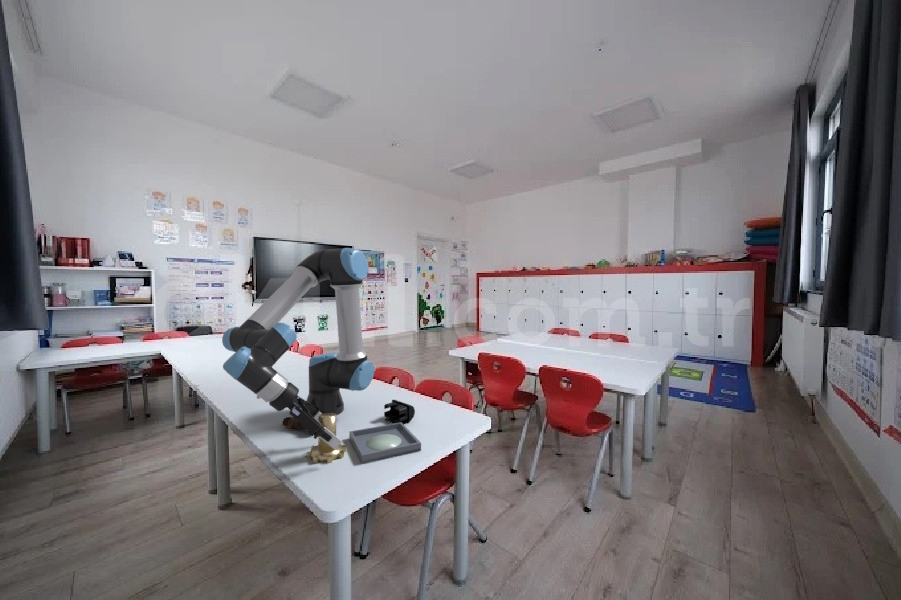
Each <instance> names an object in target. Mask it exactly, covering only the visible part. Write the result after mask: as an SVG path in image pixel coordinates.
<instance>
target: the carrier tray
mask: <svg viewBox="0 0 901 600" xmlns="http://www.w3.org/2000/svg"><path fill="white" fill-rule="evenodd" d="M348 433H349V434H348V435H349V437H348V439H349V441H350V443H351V444H352V447H353V449H354V451H355V453H356V454H357V457H358V458H359V460H360V463H361V465H363V464H368V463H373V462H376V460H377V461H381V459H382V460H386V459H390V457H391V458H394V457H393V456H395V457H398V456H403V454H404V455H407V454H411V453H412V454H413V453H417V452H420V451H422V442H421V441H420V440H419V439H418V438H417V437H416V436H415V435H414V434H413V432H412V431H410V430H409V428H407V426H406V425H403V423H402V422H400V423H394V424H393V423H390V424H389V423H388V424H384V425H377V426H372V427H366V428H361V429H356V430H355V429H354V430H350V431H348ZM385 458H386V459H385ZM372 461H373V462H372Z"/></svg>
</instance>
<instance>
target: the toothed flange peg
mask: <svg viewBox="0 0 901 600" xmlns="http://www.w3.org/2000/svg"><path fill="white" fill-rule="evenodd" d="M318 422H319V424H320V425H321V426H322V427H325V428H326V429H328V430H329V431H330V432H332V433H333V434H334V435H335V436H337V415H336V414H335V413H324V414H321V415H319V417H318ZM318 430H319V429H318ZM317 440H318V442H317V443H318V444H317V445H312V446H310V451H307V452H306V453H307V454H306V457H307V460H312V463H313V464H318V463H326V462H327V464H330V463H333V461H335V460H337V459H343V458H344V457H345V452H347V444H342V443H340V444H339V446H338V447H337V448H336V449H334V448H332V447H331V446H330V445H328V444H327V443H326V442H324V441H323V440H322V439H320V438H319V437H317Z"/></svg>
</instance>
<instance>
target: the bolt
mask: <svg viewBox="0 0 901 600" xmlns="http://www.w3.org/2000/svg"><path fill="white" fill-rule="evenodd" d="M281 422H282V426H284V427H287V428H288V429H289V430H290V429H291V431H296V430H302V431H307V433H308V434H309V435H310V436H311V435H312V437H314V436H313V434H311V433H310V432H309V431H308V430H307V429H306V428H305V427H304V426H303V425H302V424H301V423H300V422H299V421H298V420H297V419H296V418H294V417H293V416H287V417H284V418H283V419H282V421H281ZM295 429H296V430H295ZM317 431H318V430H317ZM317 431H316V432H317Z"/></svg>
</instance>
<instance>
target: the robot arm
mask: <svg viewBox="0 0 901 600" xmlns="http://www.w3.org/2000/svg"><path fill="white" fill-rule="evenodd" d="M368 274H369V261H368V260H367V257H366V255H365V254H364V252H362V250H359V249H358V248H353V247H352V248H351V247H344V248H341V247H340V248H323V249H320V250H318V251H315V252H313V253H311V254H310V255H308V256H307V257H306V258H304V259H303V260H302V261H300V263H298V265H297V266H295V268H293V274H291V276H290V277H288V279H286V280H285V282H283V283H282V285H281V286H279V287H278V289H276V290H275V292H273V293H272V294H271V295H270V296H269V297H268V298H267V299H266V300H265V301H264V302H263V303H262V304H261V305H260V306H259V307H258V308H257V309H256V310H255V311H254V312H253V313H252V314H251V315H250V316H249V317H248V318H247V319H246V320H245V321H244V322H243V323H242V324H241V325H239V326H234V327H231V328H228V329H227V330H225V331H224V333H223V334H222V337H221V338H222V339H221V341H222V345H223V347H224V348H225V350H227V351H230V352H232V353H233V352H234V353H233V354H232V355H231V356H229V358H228V359H227V360H225V362H224V363H223V364H222V368H223V370H224V371H225V373H227V374H228V375H230V377H232V378H233V380H235V381H236V382H238V383H239V384H241V385H242V386H244V387H245V388H247V390H250V391H251V392H252V393H253V394H255V395H256V399H257V400H259V399H262V401H264V402H265V403H268V402H269V403H268V404H269V406H271V407H272V408H273V409H275V410H276V411H277V412H282V411H283V410H285V409H288V410H289V415H290V417H294V418H296V419H297V420H298V421H299V422H300V423H301V424H302V425H303V426H304V427H305V428H306V429H307V430H308V431H309V432H310V433H311V434H313V435H314V436H312V437H313V439H314V440H317V439H318V437H319V438H320V439H322V440H323V441H324V442H326V443H327V444H328V445H330V446H331V447H332V448H334V449H336V448H337V447H338V446H339V444H342V442H343V441H342V439H341V438H340V437H338V436H337V435H336V436H335V435H334V434H333V433H332V432H330V431H329V430H328V429H326V428H325V427H322V426H321V425H320V424H319V422H318V417H319V415H321V414H324V413H335V414H336V416H337V415H339V414H342V412H343V411H344V410H345V403H344V401H343V399H344V398H343V397H342V394H341V391H340V390H341V389H342V390H349V391H352V392H354V391H358V392H362V391H364V390H366V389H367V388H368V387H369V386H370V384H371V382H372V381H373V378H374V374H375V365H374V363H373V361H371V360H369V359H368V353H367V352H366V351H365V350H364V349H363V334H362V333H363V332H362V331H363V330H362V319H361V318H362V317H361V300H360V288H361V287H362V285H363V284H364V283H363V281H364V279H366V278H367V277H368ZM323 281H329V286H330V288H332V289H334V291H335V308H336V309H335V310H336V322H337V323H336V324H337V334H338V335H337V337H338V346H339V347H338V348H339V349H338V351H339V352H328V353H322V354H317V355H312V356H311V357H310V358H309V360H308V361H309V363H308V394H307V398H306V400H305V399H303V398H302V397H300V396H299V392H300V389H299V388H298V387H297V386H296V385H295V384H294V383H292V382H290V381H289V380H288V379H287V378H286V377H285V376H284V375H282V374H281V373H280V372H279V371H277V370H276V369H274V368H273V366H274V365H275V364H276V363H277V362H278V360H279V359H281V357H283V355H285V353H287V351H288V350H289V349H290V348H291V346H293V344H294V343H295V341H296V340H297V338H298V335H297V333H296V331H295V329H294V328H293V327H291V326H290V325H289V324H288V323H284V322H281V321H282V320H283V318H284V317H285V316H286V315H288V313H289V312H290V311H291V309H292V308H294V306H295V305H296V304H297V303H298V302H299V301H300V300H301V299H302V297H304V295H305V294H307V292H308V291H309V290H311V288H315V287H316V286H317V285H318V284H319V283H321V282H323ZM288 381H289V382H288ZM318 429H319V430H318ZM317 430H318V431H317ZM308 431H307V432H308ZM316 431H317V432H316Z"/></svg>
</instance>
